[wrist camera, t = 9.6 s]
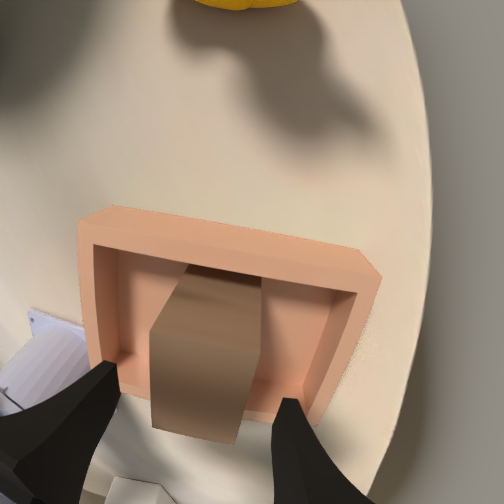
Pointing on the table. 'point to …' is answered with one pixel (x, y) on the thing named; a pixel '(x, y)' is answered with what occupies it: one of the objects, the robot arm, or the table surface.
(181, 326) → the tan wooden block
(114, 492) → the medicine bottle
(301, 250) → the pink rectangular tray
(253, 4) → the duckling
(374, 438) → the table surface
